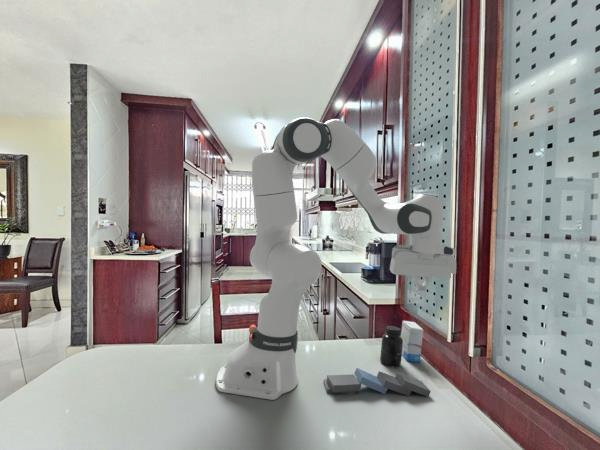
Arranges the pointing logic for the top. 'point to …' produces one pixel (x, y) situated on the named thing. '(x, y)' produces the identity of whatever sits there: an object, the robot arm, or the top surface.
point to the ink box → (411, 341)
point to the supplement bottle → (391, 347)
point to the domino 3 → (369, 380)
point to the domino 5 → (412, 384)
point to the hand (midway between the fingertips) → (420, 290)
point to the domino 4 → (392, 383)
